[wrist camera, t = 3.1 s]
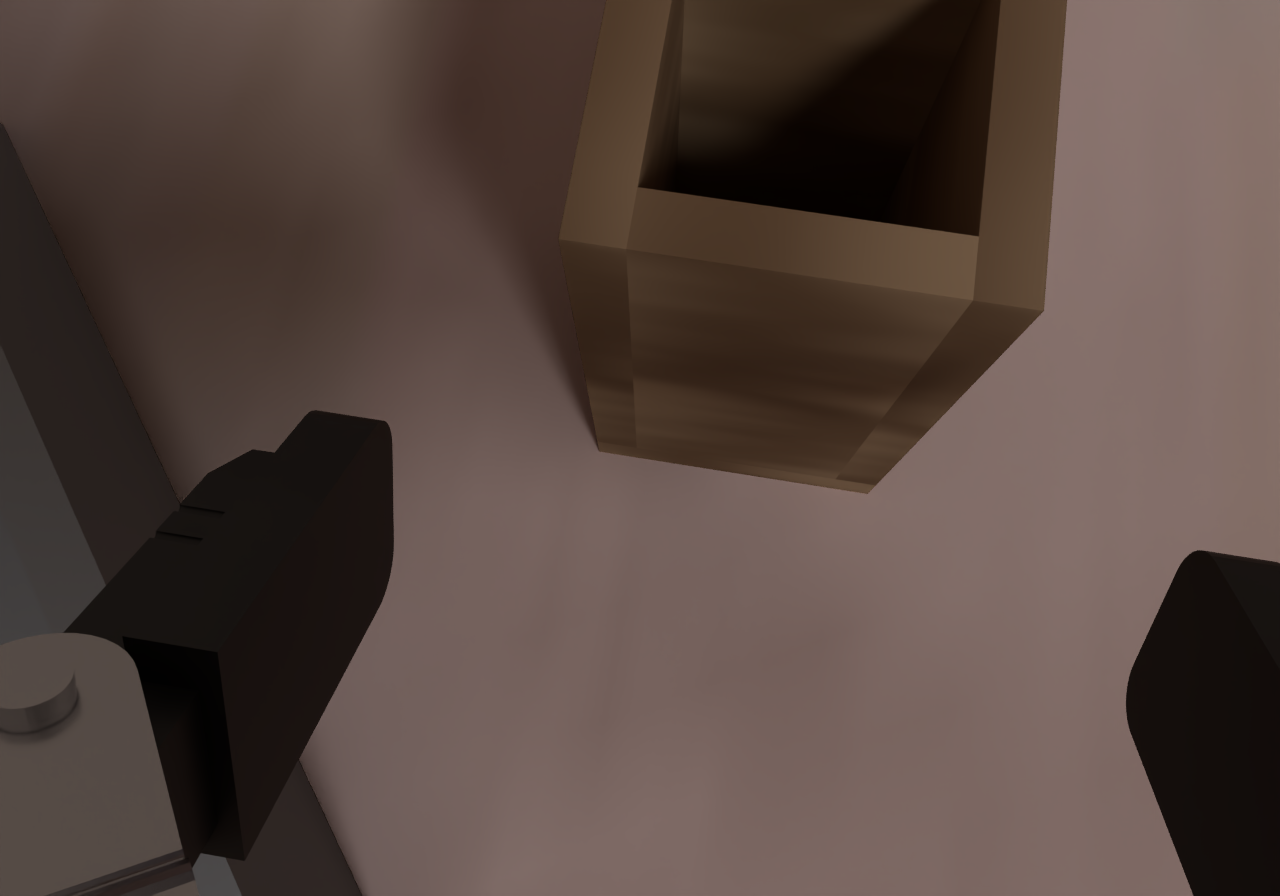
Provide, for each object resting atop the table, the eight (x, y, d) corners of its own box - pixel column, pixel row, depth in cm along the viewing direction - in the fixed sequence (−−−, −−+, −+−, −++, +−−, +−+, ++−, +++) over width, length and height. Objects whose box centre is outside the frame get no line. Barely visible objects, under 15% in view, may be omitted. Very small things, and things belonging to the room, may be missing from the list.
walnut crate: (895, 246, 23) (1074, -99, 13) (867, 493, 22) (1044, 310, 12) (643, 209, 23) (637, -154, 14) (599, 451, 22) (558, 239, 12)
